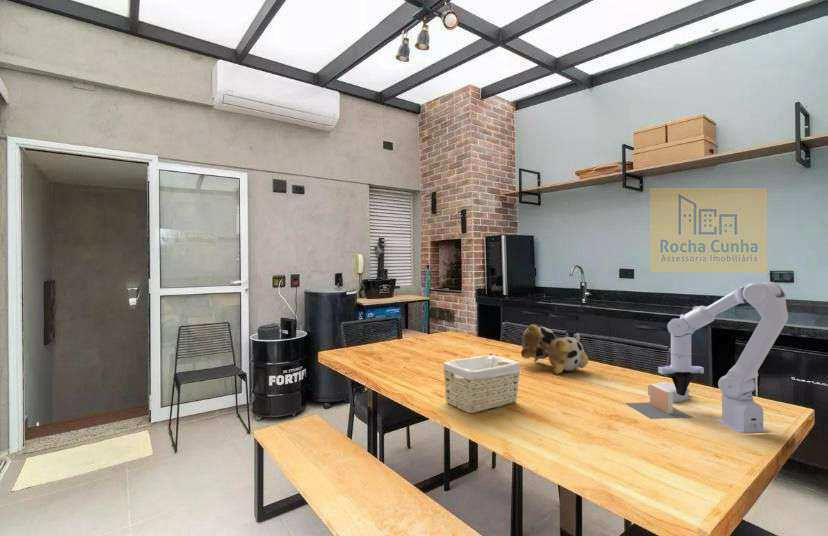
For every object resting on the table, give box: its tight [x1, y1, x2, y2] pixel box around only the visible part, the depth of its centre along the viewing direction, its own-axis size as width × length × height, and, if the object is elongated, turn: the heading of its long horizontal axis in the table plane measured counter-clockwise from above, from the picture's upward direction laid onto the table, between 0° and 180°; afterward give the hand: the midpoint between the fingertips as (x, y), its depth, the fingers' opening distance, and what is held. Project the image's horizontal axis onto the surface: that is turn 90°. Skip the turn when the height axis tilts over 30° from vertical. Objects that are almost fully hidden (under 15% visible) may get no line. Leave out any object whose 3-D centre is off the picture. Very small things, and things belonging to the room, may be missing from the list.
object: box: [442, 354, 521, 414], centre depth 141 cm, size 24×16×15 cm
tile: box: [649, 383, 674, 414], centre depth 133 cm, size 9×2×7 cm, turn 3°
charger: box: [647, 381, 691, 404], centre depth 146 cm, size 5×9×15 cm
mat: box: [624, 401, 694, 420], centre depth 132 cm, size 14×14×1 cm
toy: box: [520, 324, 589, 375], centre depth 187 cm, size 22×34×20 cm
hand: (680, 394), depth 133 cm, fingers closed
